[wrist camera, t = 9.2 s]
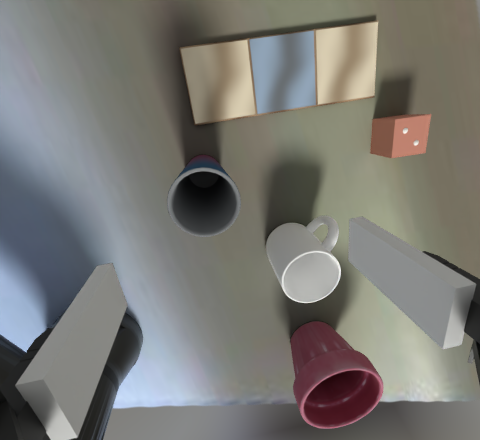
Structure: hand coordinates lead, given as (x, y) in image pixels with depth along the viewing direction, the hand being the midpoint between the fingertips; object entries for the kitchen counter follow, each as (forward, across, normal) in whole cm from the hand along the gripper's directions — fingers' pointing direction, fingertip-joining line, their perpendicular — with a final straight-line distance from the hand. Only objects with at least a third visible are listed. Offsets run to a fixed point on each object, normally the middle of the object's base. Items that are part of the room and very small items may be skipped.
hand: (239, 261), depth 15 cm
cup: (+26, -1, 0) cm, 26 cm away
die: (+26, +27, +2) cm, 37 cm away
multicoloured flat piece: (+26, +11, +12) cm, 30 cm away
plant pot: (+26, +14, -36) cm, 47 cm away
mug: (+26, +12, -12) cm, 31 cm away
